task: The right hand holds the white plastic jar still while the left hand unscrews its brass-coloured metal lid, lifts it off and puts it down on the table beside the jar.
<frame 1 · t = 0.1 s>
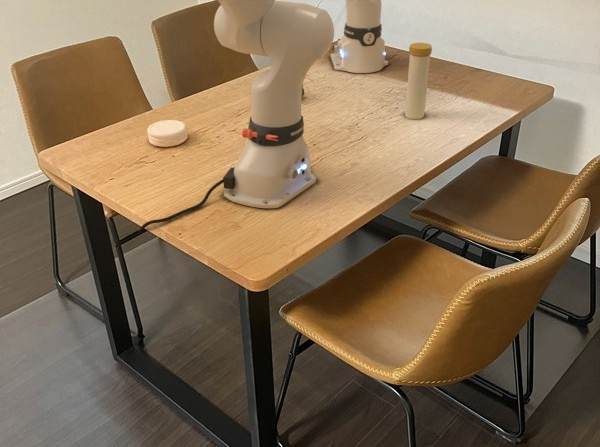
rock: (279, 96, 186), on the table
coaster: (168, 140, 161), on the table
jar: (414, 115, 173), on the table
lid: (420, 47, 162), point 19 cm above the table, screwed on, not yet turned
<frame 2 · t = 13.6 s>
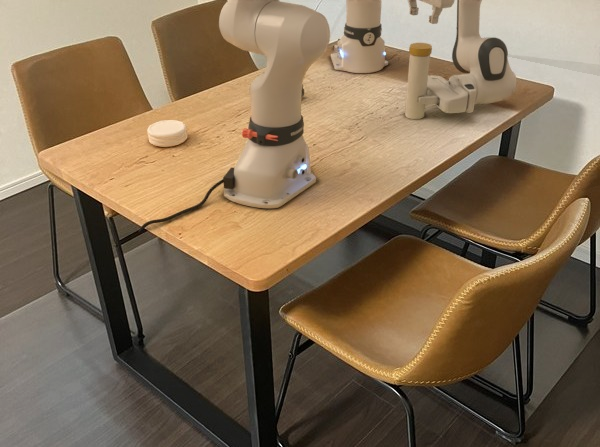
left hand: (423, 18, 159), 26 cm above the table, tool pointing down, fingers open, 8 cm apart
right hand: (413, 96, 169), 6 cm above the table, tool horizontal, fingers closed on jar, 5 cm apart
jar: (414, 115, 173), on the table, touching right hand
everything else where it was.
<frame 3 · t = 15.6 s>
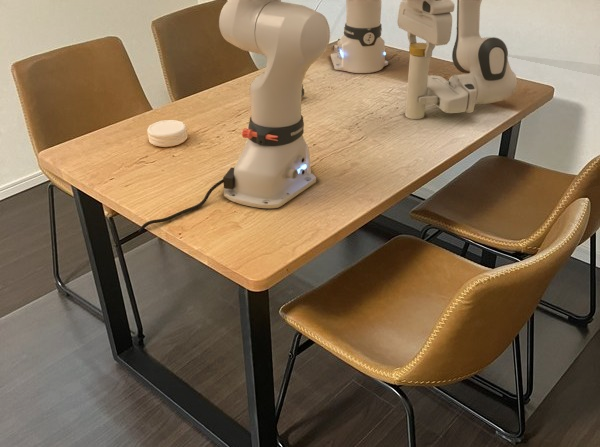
left hand: (420, 53, 163), 17 cm above the table, tool pointing down, fingers closed on lid, 5 cm apart
right hand: (413, 96, 169), 6 cm above the table, tool horizontal, fingers closed on jar, 5 cm apart
jar: (414, 115, 173), on the table, touching right hand
lid: (420, 47, 162), point 19 cm above the table, screwed on, not yet turned, touching left hand
everything else where it was.
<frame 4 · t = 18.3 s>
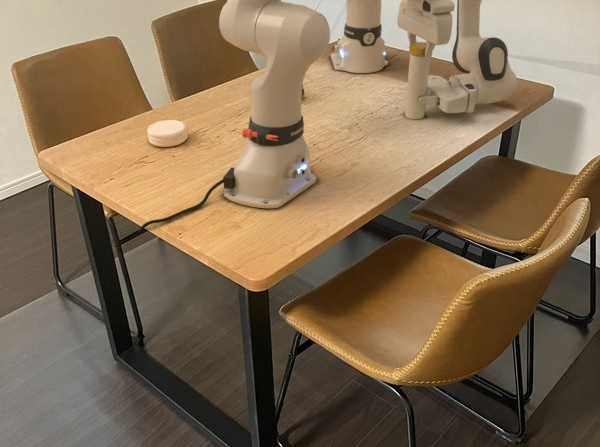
left hand: (420, 53, 163), 18 cm above the table, tool pointing down, fingers closed on lid, 5 cm apart
right hand: (413, 95, 169), 6 cm above the table, tool horizontal, fingers closed on jar, 5 cm apart
jar: (414, 115, 173), on the table, touching right hand
lid: (420, 46, 162), point 19 cm above the table, turned 53° so far, risen 0.1 cm, still on its thread, touching left hand
everything else where it was.
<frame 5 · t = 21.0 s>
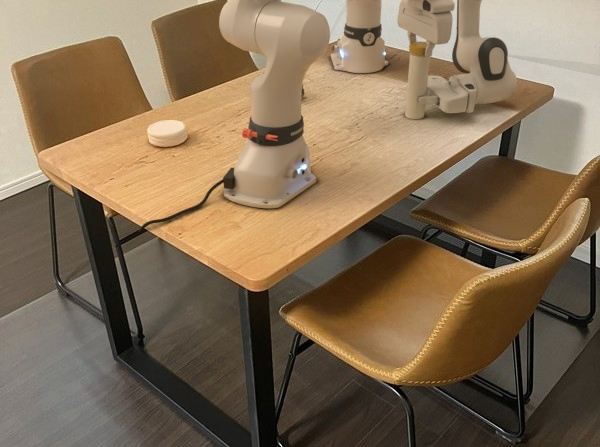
left hand: (420, 52, 163), 18 cm above the table, tool pointing down, fingers closed on lid, 5 cm apart
right hand: (413, 96, 169), 6 cm above the table, tool horizontal, fingers closed on jar, 5 cm apart
jar: (414, 115, 173), on the table, touching right hand
lid: (420, 45, 162), point 19 cm above the table, turned 105° so far, risen 0.3 cm, still on its thread, touching left hand
everything else where it was.
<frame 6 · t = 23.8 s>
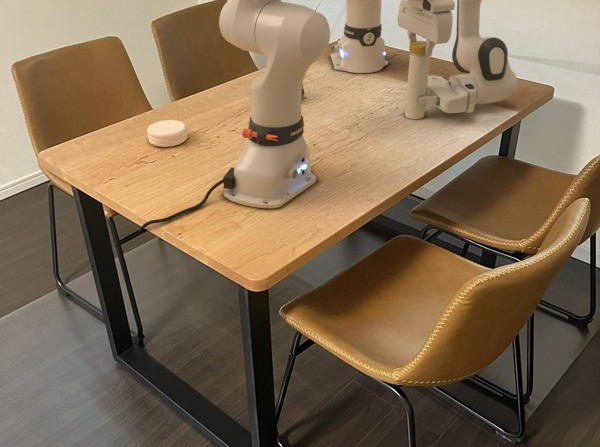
left hand: (420, 51, 163), 18 cm above the table, tool pointing down, fingers closed on lid, 5 cm apart
right hand: (413, 96, 169), 6 cm above the table, tool horizontal, fingers closed on jar, 5 cm apart
jar: (414, 115, 173), on the table, touching right hand
lid: (420, 45, 162), point 20 cm above the table, turned 157° so far, risen 0.5 cm, still on its thread, touching left hand
everything else where it was.
when the left hand's fingers open (2 cm above the table, at t = 30.0 s): lid drops 2 cm, point 2 cm above the table.
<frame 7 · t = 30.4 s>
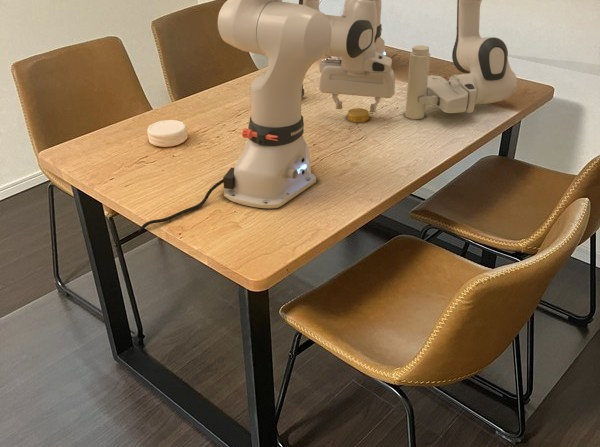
left hand: (356, 109, 170), 3 cm above the table, tool pointing down, fingers open, 8 cm apart
right hand: (413, 96, 169), 6 cm above the table, tool horizontal, fingers closed on jar, 5 cm apart
jar: (414, 115, 173), on the table, touching right hand
lid: (358, 113, 171), point 2 cm above the table, off its thread
everything else where it was.
when the right hand's fingers open (6 cm above the table, at t = 31.0 s): jar stays where it is, on the table.
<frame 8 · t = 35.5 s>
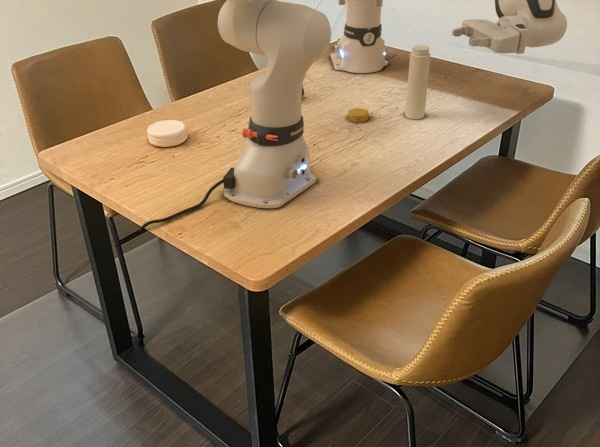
left hand: (360, 5, 155), 30 cm above the table, tool pointing down, fingers open, 8 cm apart
right hand: (461, 37, 164), 21 cm above the table, tool horizontal, fingers open, 8 cm apart
jar: (414, 115, 173), on the table
everything else where it was.
at the end: lid came off its thread; lid point 1.5 cm above the table; the left hand is holding nothing; the right hand is holding nothing; jar tilted 0°; jar moved 0.1 cm from its start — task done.
